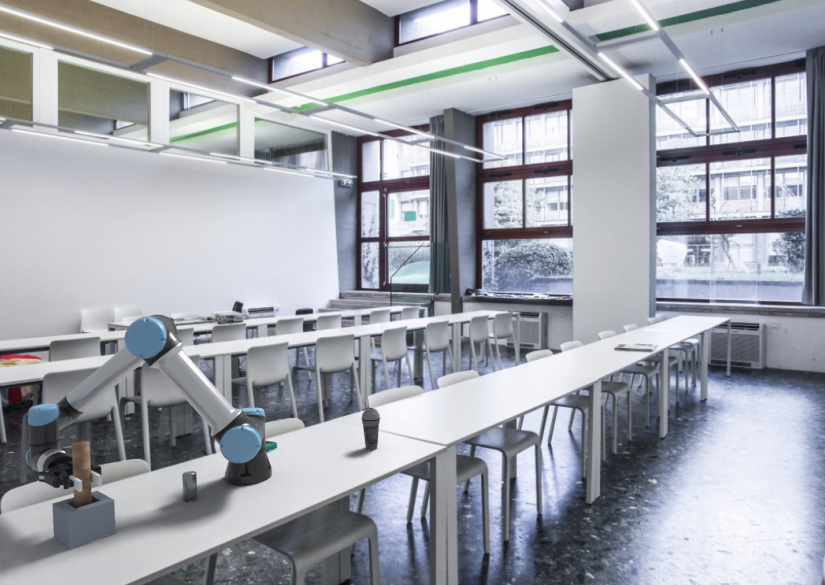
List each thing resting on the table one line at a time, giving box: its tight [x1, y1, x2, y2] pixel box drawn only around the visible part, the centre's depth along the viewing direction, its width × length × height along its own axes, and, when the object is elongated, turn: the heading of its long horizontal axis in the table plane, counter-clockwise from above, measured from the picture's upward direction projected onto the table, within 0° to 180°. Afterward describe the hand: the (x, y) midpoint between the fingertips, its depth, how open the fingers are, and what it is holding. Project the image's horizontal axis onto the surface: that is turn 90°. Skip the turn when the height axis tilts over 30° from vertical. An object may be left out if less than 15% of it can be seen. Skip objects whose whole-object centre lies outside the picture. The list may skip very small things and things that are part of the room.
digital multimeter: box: [266, 440, 278, 453], centre depth 220 cm, size 7×15×3 cm, turn 65°
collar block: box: [51, 490, 117, 550], centre depth 148 cm, size 11×11×9 cm
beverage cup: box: [361, 396, 381, 451], centre depth 217 cm, size 7×7×20 cm
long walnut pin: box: [71, 440, 92, 508], centre depth 148 cm, size 4×4×22 cm
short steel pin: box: [181, 470, 198, 503], centre depth 171 cm, size 4×4×8 cm
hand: (90, 483), depth 144 cm, fingers closed on long walnut pin, 4 cm apart
